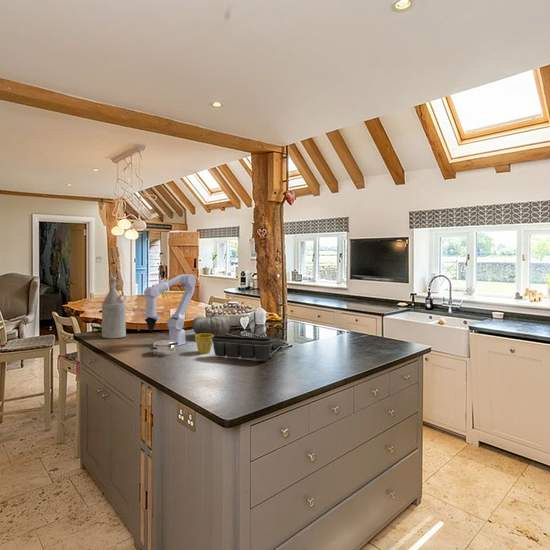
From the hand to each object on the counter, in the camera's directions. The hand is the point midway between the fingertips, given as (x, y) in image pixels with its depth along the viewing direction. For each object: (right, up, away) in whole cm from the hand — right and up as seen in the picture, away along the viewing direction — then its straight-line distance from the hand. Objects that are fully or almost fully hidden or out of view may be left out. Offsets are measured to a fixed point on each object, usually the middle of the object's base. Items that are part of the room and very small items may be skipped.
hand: (151, 330), depth 229 cm
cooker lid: (+12, -6, -11) cm, 17 cm away
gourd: (+29, -10, +36) cm, 47 cm away
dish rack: (+59, -12, -3) cm, 60 cm away
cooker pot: (+11, -11, -10) cm, 18 cm away
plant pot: (+32, -12, -6) cm, 35 cm away
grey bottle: (-34, -9, +31) cm, 46 cm away
